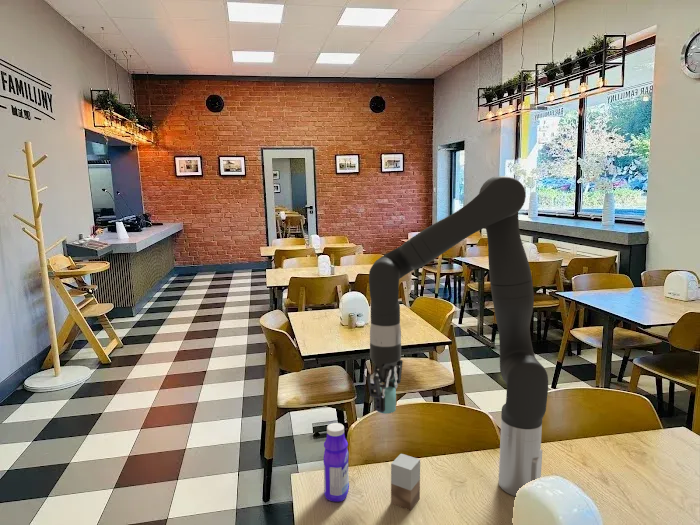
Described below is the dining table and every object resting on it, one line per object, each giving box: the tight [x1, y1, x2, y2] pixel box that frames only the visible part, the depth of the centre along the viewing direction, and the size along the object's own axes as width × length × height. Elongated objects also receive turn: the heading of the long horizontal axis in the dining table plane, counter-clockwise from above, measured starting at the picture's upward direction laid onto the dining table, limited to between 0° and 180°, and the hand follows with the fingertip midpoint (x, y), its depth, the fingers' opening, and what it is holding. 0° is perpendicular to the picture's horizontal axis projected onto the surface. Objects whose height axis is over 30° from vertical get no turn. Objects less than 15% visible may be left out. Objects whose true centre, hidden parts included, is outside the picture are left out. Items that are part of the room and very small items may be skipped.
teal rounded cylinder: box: [375, 386, 397, 415], centre depth 118 cm, size 5×5×5 cm
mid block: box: [390, 453, 421, 490], centre depth 111 cm, size 5×5×5 cm
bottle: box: [323, 422, 350, 503], centre depth 114 cm, size 7×6×17 cm
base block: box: [390, 479, 421, 511], centre depth 112 cm, size 5×5×5 cm
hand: (385, 406), depth 119 cm, fingers closed on teal rounded cylinder, 5 cm apart
